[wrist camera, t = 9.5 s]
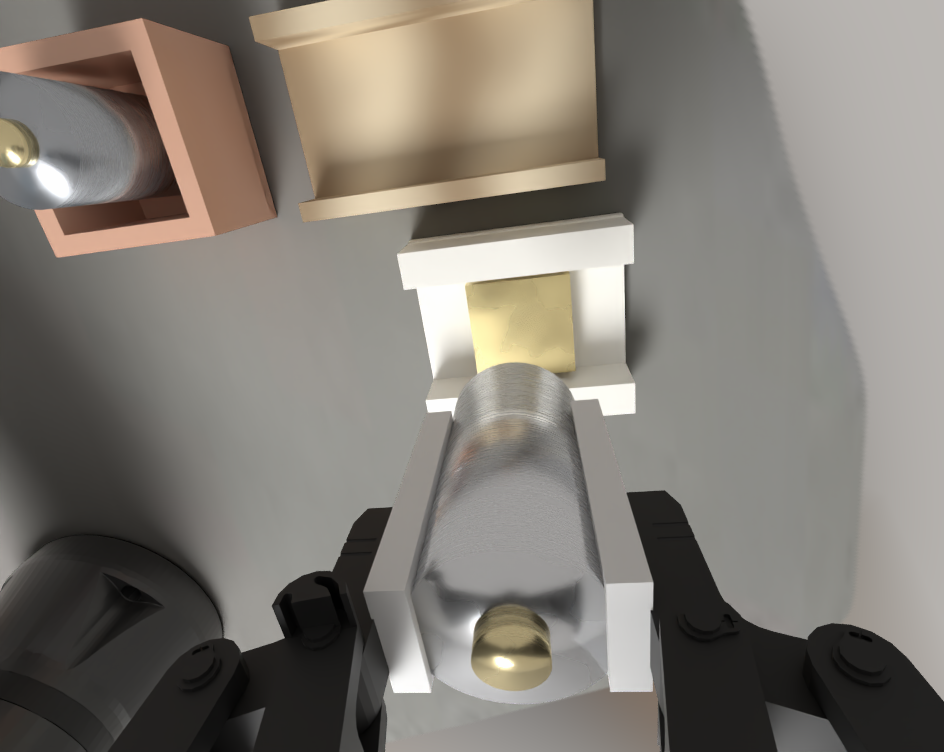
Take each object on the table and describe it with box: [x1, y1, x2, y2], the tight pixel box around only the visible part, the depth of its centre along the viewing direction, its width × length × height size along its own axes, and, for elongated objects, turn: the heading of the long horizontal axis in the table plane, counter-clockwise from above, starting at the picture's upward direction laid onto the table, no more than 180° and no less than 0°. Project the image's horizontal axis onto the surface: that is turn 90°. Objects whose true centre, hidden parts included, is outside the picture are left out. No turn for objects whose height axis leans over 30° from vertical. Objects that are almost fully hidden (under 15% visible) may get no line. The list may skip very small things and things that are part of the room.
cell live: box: [411, 362, 608, 704], centre depth 13 cm, size 4×4×9 cm
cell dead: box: [0, 71, 182, 210], centre depth 19 cm, size 4×4×9 cm
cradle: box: [397, 213, 635, 417], centre depth 24 cm, size 10×9×3 cm
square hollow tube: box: [0, 18, 277, 258], centre depth 21 cm, size 7×7×6 cm
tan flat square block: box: [465, 271, 576, 373], centre depth 25 cm, size 5×5×1 cm
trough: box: [249, 0, 606, 222], centre depth 21 cm, size 13×8×3 cm, turn 98°
